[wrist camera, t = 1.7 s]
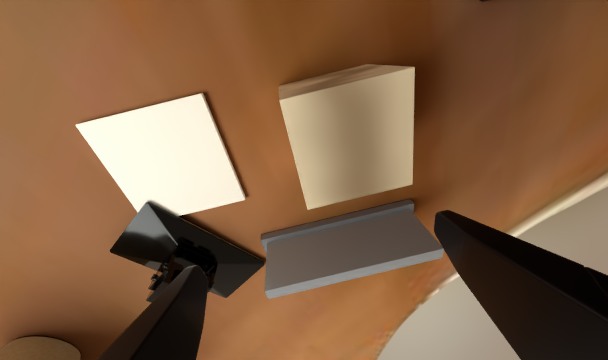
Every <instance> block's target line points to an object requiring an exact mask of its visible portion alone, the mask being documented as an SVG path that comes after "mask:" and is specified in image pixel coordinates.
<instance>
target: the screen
mask: <svg viewBox="0 0 608 360" xmlns="http://www.w3.org/2000/svg"><path fill="white" fill-rule="evenodd" d="M261 242H262V245H263V247H264V250H265V252H266V254H267V256H266V275H265V293H266V295H267V297H268V299H271V298H275V297H279V296H283V295H288V294H292V293H296V292H300V291H304V290H309V289H313V288H317V287H321V286H326V285H330V284H334V283H338V282H342V281H347V280H351V279H355V278H359V277H363V276H368V275H372V274H376V273H380V272H385V271H389V270H393V269H397V268H401V267H406V266H410V265H414V264H418V263H422V262H427V261H431V260H435V259H439V258H443V251H444V248H443V247H442V246H441V245H440V244H439V243H438V241H437V240H436V239H435V238H434V237H433V236H432V235H431V233H430V232H429V231H428V230H427V229H426V228H425V227H424V225H423V224H422V223H421V222H420V221H419V220H418V219H417V217H416V216H415V215H414V203H413V202H412V201H411V200H410V199H407V200H403V201H399V202H395V203H391V204H386V205H382V206H378V207H374V208H370V209H366V210H361V211H357V212H353V213H349V214H345V215H341V216H336V217H332V218H328V219H324V220H320V221H316V222H312V223H307V224H303V225H299V226H295V227H291V228H287V229H282V230H278V231H274V232H270V233H266V234H262V235H261Z"/></svg>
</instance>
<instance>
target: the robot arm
mask: <svg viewBox="0 0 608 360" xmlns="http://www.w3.org/2000/svg"><path fill="white" fill-rule="evenodd" d="M480 1H488V0H480ZM434 232H435V234H436V236H437V238H438V240H439V242H440V243H441V245H442V247H443V248H444V250H445V252H446V254H447V255H448V257H449V259H450V260H451V262H452V264H453V266H454V267H455V269H456V271H457V272H458V274H459V275H460V277H461V278H462V279H463V281H464V282H465V284H466V285H467V286H468V288H469V289H470V290H471V292H472V293H473V294H474V296H475V297H476V299H477V300H478V301H479V303H480V304H481V306H482V307H483V308H484V310H485V311H486V312H487V314H488V315H489V317H490V318H491V319H492V321H493V322H494V323H495V325H496V326H497V327H498V329H499V330H500V332H501V333H502V334H503V335H504V337H505V338H506V340H507V341H508V343H509V344H510V345H511V347H512V348H513V349H514V351H515V352H516V353H517V355H518V356H519V358H520V359H521V360H608V275H606V274H603V273H601V272H598V271H596V270H593V269H591V268H588V267H584V266H583V265H581V264H579V263H576V262H574V261H571V260H569V259H567V258H564V257H561V256H559V255H557V254H554V253H552V252H550V251H547V250H544V249H542V248H540V247H537V246H535V245H533V244H530V243H528V242H525V241H523V240H520V239H518V238H516V237H513V236H511V235H508V234H506V233H503V232H501V231H499V230H496V229H494V228H491V227H489V226H486V225H484V224H482V223H479V222H477V221H474V220H472V219H469V218H467V217H465V216H462V215H460V214H457V213H455V212H452V211H450V210H445V211H440V212H437V213H436V215H435V225H434ZM207 291H208V279H207V277H206V276H205V274H204V273H203V271H202V270H201V268H200V267H199V266H198V265H194V266H190V267H187V268H185V269H184V270H183V271H182V272H181V273H180V274H179V275H178V276H177V277H176V278H175V279H174V280H173V281H172V282H171V283H170V285H169V286H168V287H167V288H166V289H165V290H164V291H163V292H162V293H161V294H160V295H159V296H158V297H157V298H156V299H155V300H154V301H153V302H152V303H151V304H150V305H149V306H148V307H147V308H146V309H145V310H144V311H143V312H142V313H141V314H140V315H139V316H138V318H137V319H136V320H135V321H134V322H133V323H132V324H131V325H130V326H129V327H128V328H127V329H126V330H125V331H124V332H123V333H122V334H121V335H120V336H119V337H118V338H117V339H116V340H115V341H114V342H113V343H112V344H111V345H110V346H109V347H108V348H107V349H106V350H105V352H104V353H103V354H102V355H101V356H100V357H99V358H98V359H97V360H196V357H197V353H198V348H199V344H200V339H201V334H202V329H203V324H204V316H205V308H206V299H207Z"/></svg>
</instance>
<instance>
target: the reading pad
mask: <svg viewBox="0 0 608 360" xmlns="http://www.w3.org/2000/svg"><path fill="white" fill-rule="evenodd" d="M76 127H77V128H78V130H79V131H80V132H81V134H82V135H83V137H84V138H85V139H86V141H87V142H88V144H89V145H90V146H91V148H92V149H93V151H94V152H95V153H96V155H97V156H98V158H99V159H100V160H101V162H102V163H103V164H104V166H105V167H106V169H107V170H108V171H109V173H110V174H111V176H112V177H113V178H114V180H115V181H116V183H117V184H118V185H119V187H120V188H121V190H122V191H123V192H124V194H125V195H126V197H127V198H128V199H129V201H130V202H131V204H132V205H133V206H134V208H135V209H136V210H137V212H139V211H140V209H141V208H142V207H143V205H144V204H145V203H146V202H151V203H153V204H155V205H157V206H159V207H161V208H163V209H165V210H167V211H169V212H171V213H173V214H175V215H176V216H181V215H185V214H189V213H193V212H197V211H201V210H206V209H210V208H214V207H218V206H222V205H226V204H230V203H234V202H239V201H243V200H245V199H246V197H245V194H244V192H243V189H242V187H241V184H240V182H239V180H238V177H237V175H236V172H235V170H234V167H233V165H232V163H231V160H230V158H229V155H228V153H227V150H226V148H225V145H224V143H223V141H222V138H221V136H220V133H219V131H218V128H217V126H216V124H215V121H214V119H213V116H212V114H211V111H210V109H209V106H208V104H207V102H206V99H205V97H204V94H203V93H200V94H196V95H192V96H188V97H184V98H180V99H176V100H172V101H168V102H164V103H160V104H156V105H152V106H148V107H144V108H140V109H136V110H132V111H128V112H124V113H120V114H116V115H111V116H107V117H103V118H99V119H95V120H91V121H87V122H83V123H79V124H76Z"/></svg>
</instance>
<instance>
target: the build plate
mask: <svg viewBox="0 0 608 360" xmlns="http://www.w3.org/2000/svg"><path fill="white" fill-rule="evenodd" d="M110 252H111V253H113V254H116V255H118V256H121V257H123V258H126V259H128V260H131V261H134V262H136V263H139V264H141V265H144V266H146V267H149V268H151V269H154V270H156V271H157V273H156V274H154V275H153V276H152V278H151V280H152V282H151V284H150V286H149V288H148V289H150V290H151V292H150V294H149V296H148V298H147V300H146V301H149V302H153V301H154V300H155V299H156V298H157V297H158V296H159V295H160V294H161V293H162V292H163V291H164V290H165V289H166V288H167V287H168V286H169V285H170V283H171V282H172V281H173V280H174V279H175V278H176V277H177V276H178V275H179V274H180V273H181V272H182V271H183V270H184V269H185V268H187V267H190V266H194V265H198V266H199V267H200V268H201V270H202V271H203V273H204V274H205V276H206V277H207V279H208V291H207V293H208V292H212V293H214V294H217V295H219V296H222V297H225V298H227V297H228V296H229V295H231V294H232V293H233V292H234V291H235V290H236V289H237V288H239V287H240V286H241V285H242V284H243V283H244V282H245V281H246V280H248V279H249V278H250V277H251V276H252V275H253V274H254V273H256V272H257V271H258V270H259V269H260V268H261V267H262V266H264V263H265V262H264V260H262V259H260V258H258V257H256V256H254V255H252V254H250V253H248V252H246V251H244V250H242V249H240V248H238V247H237V246H235V245H233V244H231V243H229V242H227V241H225V240H223V239H221V238H219V237H217V236H215V235H213V234H211V233H209V232H207V231H206V230H204V229H202V228H200V227H198V226H196V225H194V224H192V223H190V222H188V221H186V220H184V219H182V218H180V217H178V216H176V215H175V214H173V213H171V212H169V211H167V210H165V209H163V208H161V207H159V206H157V205H155V204H153V203H151V202H146V203H145V204H144V205H143V207H142V208H141V209H140V211H139V212H138V213H137V215H136V216H135V217H134V219H133V220H132V221H131V223H130V224H129V225H128V227H127V228H126V229H125V231H124V232H123V233H122V235H121V236H120V237H119V239H118V240H117V241H116V243H115V244H114V245H113V247H112V248H111V249H110Z"/></svg>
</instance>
